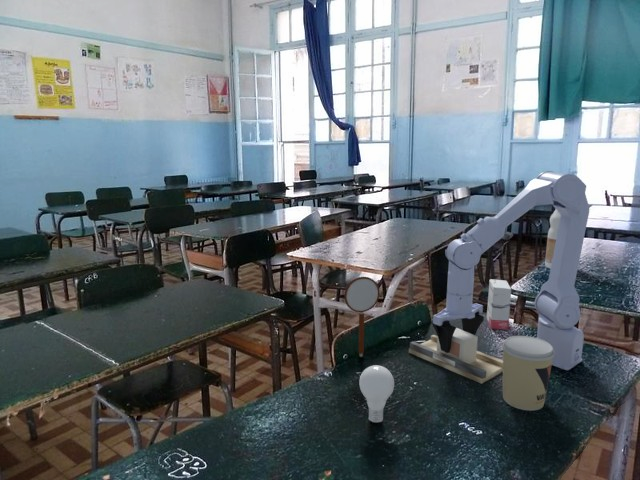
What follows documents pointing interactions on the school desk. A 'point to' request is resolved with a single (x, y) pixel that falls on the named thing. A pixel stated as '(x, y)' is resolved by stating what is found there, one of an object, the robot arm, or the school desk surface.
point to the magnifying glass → (361, 301)
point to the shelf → (459, 361)
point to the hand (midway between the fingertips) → (456, 347)
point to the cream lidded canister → (526, 371)
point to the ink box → (498, 304)
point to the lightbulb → (376, 390)
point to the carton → (462, 346)
